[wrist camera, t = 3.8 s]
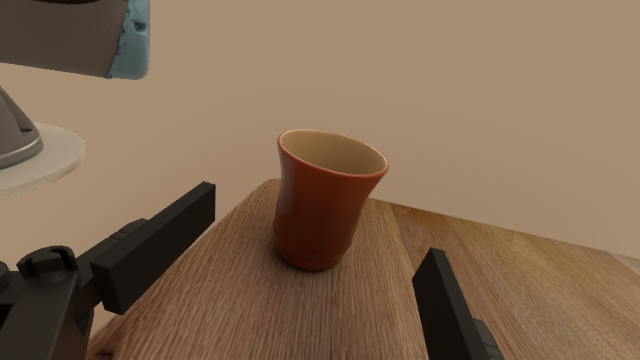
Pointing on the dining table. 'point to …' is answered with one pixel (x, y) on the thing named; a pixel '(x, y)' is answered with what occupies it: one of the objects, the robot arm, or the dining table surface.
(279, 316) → the dining table surface
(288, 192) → the mug
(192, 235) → the robot arm
